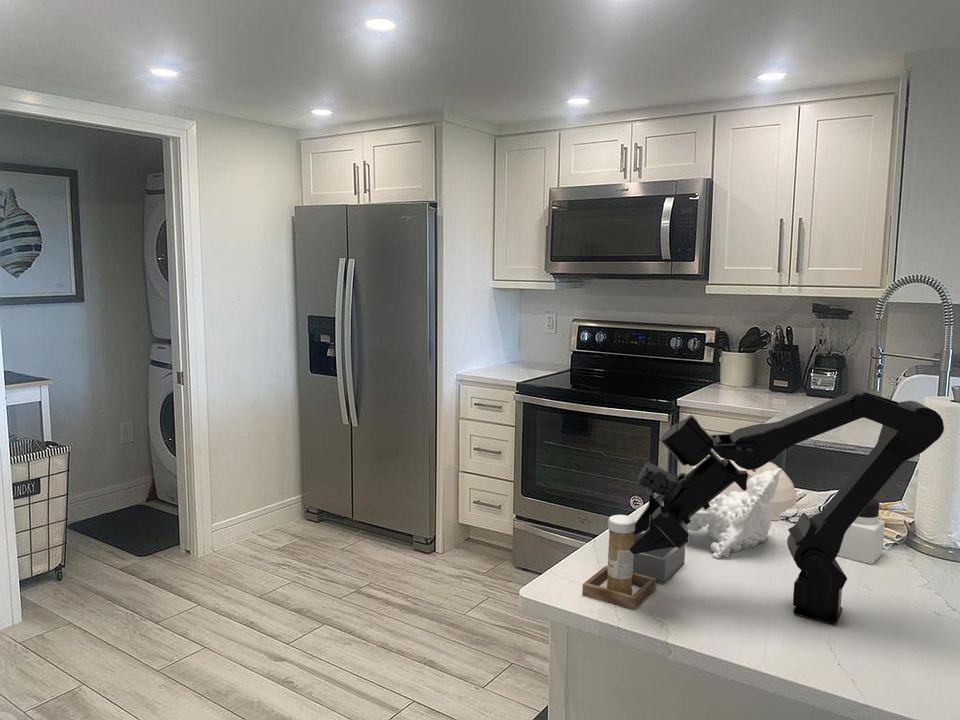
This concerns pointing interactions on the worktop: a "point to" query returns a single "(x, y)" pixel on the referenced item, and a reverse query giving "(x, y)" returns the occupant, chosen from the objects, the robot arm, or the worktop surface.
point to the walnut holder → (619, 598)
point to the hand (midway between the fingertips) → (631, 541)
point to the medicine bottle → (864, 536)
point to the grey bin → (658, 562)
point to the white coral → (739, 515)
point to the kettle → (783, 494)
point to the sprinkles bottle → (620, 553)
